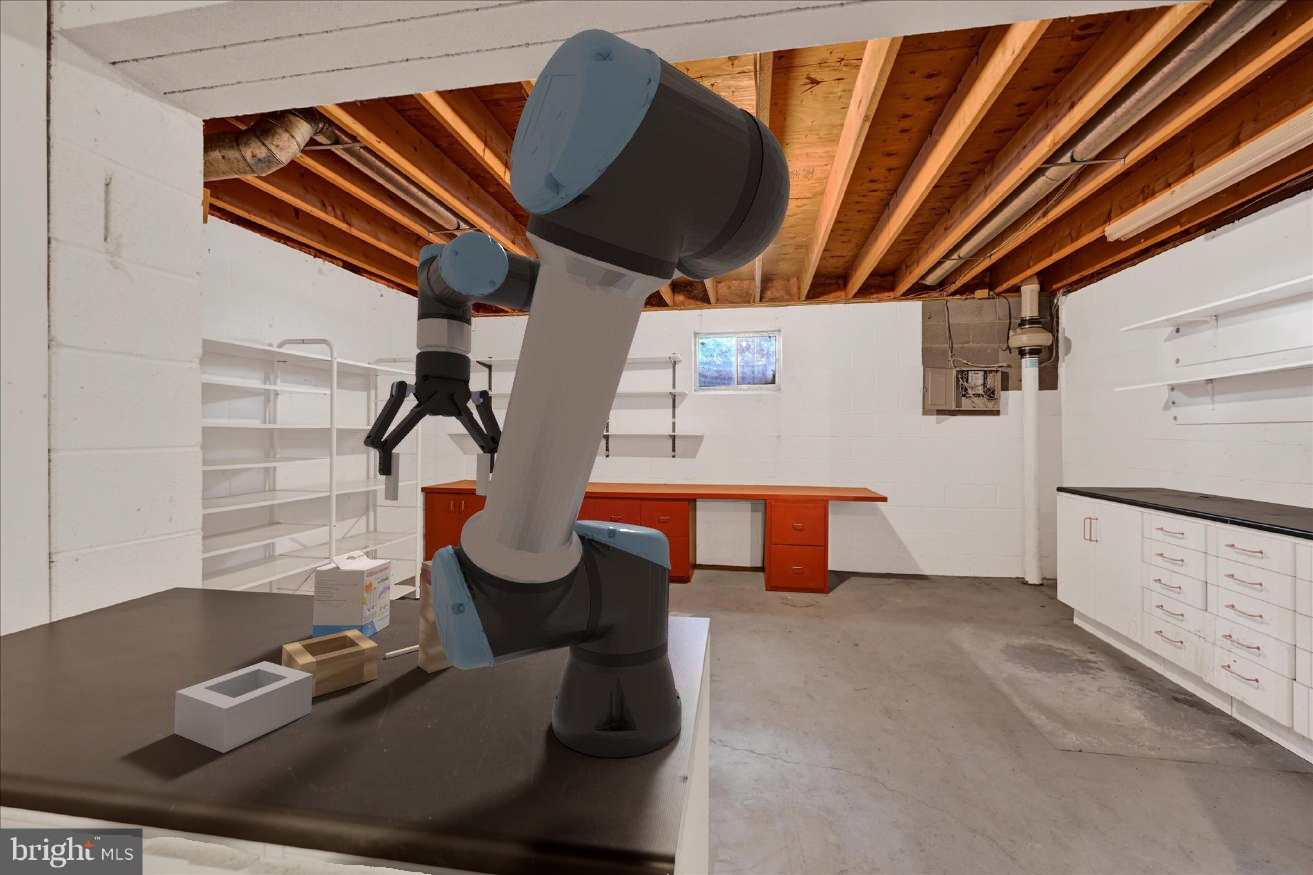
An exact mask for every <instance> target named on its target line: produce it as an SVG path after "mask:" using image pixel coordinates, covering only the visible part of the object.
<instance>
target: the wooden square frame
mask: <svg viewBox="0 0 1313 875" xmlns="http://www.w3.org/2000/svg"><path fill="white" fill-rule="evenodd" d="M281 653H282V655H281V666H284V667H288V668H292V669H295V670H299V671H302V672H306V673H310V674H313V678H312V698H314V697H318V696H321V695H325V694H328V693H332V692H335V691H336V692H337V691H339V690H342V689H346V688H349V687H353V686H356V685H359V684H362V683H367V682H370V681H372V680H373V681H374V680H376V679H378V662H379V645H378V643H376V642H375V641H373V640H372V639H370V637H369V638H367V637H366V636H365V635H363V634H362V633H360V632H359V631H358V630H356V629H354V630H349V631H345V632H340V633H335V634H331V635H326V636H322V637H317V638H313V639H312V638H309V639H304V640H301V641H299V640H298V641H295V642H290V643H286V644H282V652H281Z"/></svg>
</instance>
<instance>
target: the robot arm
mask: <svg viewBox="0 0 1313 875" xmlns="http://www.w3.org/2000/svg"><path fill="white" fill-rule="evenodd" d="M524 104H525V105H524V107H523V110H522V112H521V115H520V117H519V122H518V125H517V128H516V132H515V135H514V139H513V143H512V149H511V153H510V154H511V155H510V160H509V161H510V165H511V167H512V168H511V169H510V173H509V182H510V184H509V185H510V186H509V187H510V189H511V193H512V194H511V195H512V196H513V198H514V199H515V201H516V202H517V203H518V204H519V205H520V206H521V207H522V208H523V209H524V210H525V211H526V212H527V213H529V218H528V222H527V223H528V224H527V227H526V232H525V235H526V237H527V239H528V241H529V242H530V244H531V246H532V248H533V249H534V251H535V252H536V254H537V256H538V258H536V257H531V256H526V255H523V254H518V253H515V252H511V251H508V250H504V248H503V246H502V245H501V243H499V242H498V241H496V240H495V238H493V237H492V236H490V235H489V234H488V233H485V232H482V231H481V232H480V231H473V230H472V231H466V232H463V233H461V234H459V235H457V236H456V237H455V238H453V239H451V240H450V241H448V242H447V243H443V242H442V243H441V242H439V243H432V244H427V245H424V246H423V247H422V248H421V249H420V251H419V259H418V266H417V267H416V268H417V269H416V273H417V279H418V280H417V282H418V283H417V314H416V315H417V318H416V320H417V321H416V341H415V342H416V346H415V347H416V349H417V350H418V352H417V354H415V376H414V377H415V381H414V384H411V383H407V382H406V381H405V380H397V381H394V382H392V383H391V385H390V390H389V392H390V393H389V397H388V399H387V400H386V402H385V404H384V406H383V407H382V409H381V411H380V413H379V414H378V416H377V418H376V419H375V421H374V422H373V424H372V426H371V428H370V430H369V431H368V433H367V435H366V436H365V438H364V439H363V445H364V446H365V447H368V448H372V449H374V450H376V451H377V452H378V471H377V472H378V475H379V476H381V477H384V500H386V501H392V502H393V501H399V484H400V482H399V481H400V480H399V479H400V452H393V451H394V450H395V449H396V448H397V446H399V444H400V443H401V442H402V441H403V440H404V439H405V438H406V437H407V436H408V434H409V433H411V431H412V430H413V429H414V428H415V427H416V426H417V425H418V424H419V423H420V422H421V421H422V419H424V418H425V417H427V415H428V417H440V416H441V417H444V418H455V419H456V420H457V421H459V422H460V423H461V425H462V427H463V428H464V429H465V430H466V431H467V433H468V434H469V436H470V437H471V439H472V440H473V442H474V443H475V444H476V445H477V447H478V449H479V450H481V452H482V453H481V452H480V453H479V452H478V453H476V473H475V474H476V482H475V483H476V484H475V486H476V487H475V495H477V496H484V497H486V499H485V503H484V507H483V509H482V510H480V511H478V512H475V513H474V514H473V515H471V517H469V518H468V519H467V520H466V521H465V523H464V525H463V526H462V529H461V532H460V538H459V543H458V546H452V545H449V544H448V545H446V546H445V547H442V548H439V549H438V550H437V551H435V552H434V553H433V557H432V558H431V561H432V565H431V588H432V599H433V607H434V614H435V620H436V625H437V630H438V634H439V638H440V642H441V645H442V648H443V651H444V653H445V655H446V657H447V659H448V661H449V662H450V663H451V664H452V665H453V666H452V667H455V668H456V669H459V670H461V671H465V670H468V671H469V670H474V669H479V668H485V667H490V668H494V667H497V665H500V664H504V663H508V662H513V661H517V660H520V659H524V658H528V657H533V656H536V655H541V654H544V653H549V652H553V651H556V650H560V649H565V648H568V647H569V652H568V659H567V662H566V664H565V668H564V670H563V671H564V672H563V675H562V678H561V682H560V685H559V689H558V691H557V693H556V695H555V698H554V699H553V703H552V713H551V714H552V715H551V716H552V719H551V720H552V722H551V727H552V731H553V734H554V735H555V737H556V738H557V740H559V741H560V742H561V743H562V744H563V745H564V746H566V747H568V748H570V749H571V750H574V751H576V752H579V753H582V754H585V755H589V756H594V757H595V756H596V757H602V758H603V757H604V758H627V757H634V756H639V755H643V754H644V755H645V754H648V753H650V752H653V751H656V750H658V749H660V748H662V747H664V746H666V745H667V744H669V743H671V741H673V740H674V739H675V738H676V737H677V735H678V734H679V733H680V730H681V728H682V719H683V718H682V711H683V710H682V709H683V705H682V699H681V698H682V697H681V696H680V695H681V694H680V693H679V691H678V690H677V687H676V682H675V679H674V678H675V677H674V674H673V673H674V672H673V669H672V665H671V661H670V658H669V612H670V610H669V608H670V607H669V606H670V578H671V577H670V576H671V575H670V573H671V572H670V571H671V570H672V565H671V564H670V563H671V562H670V542H669V539H668V538H667V536H666V535H665V533H663V532H662V531H660V530H658V529H655V528H651V527H647V526H641V525H634V524H629V523H623V522H622V523H621V522H611V521H603V520H602V521H601V520H587V519H585V520H577V519H578V517H579V512H580V510H581V506H582V503H583V501H584V497H585V493H586V491H587V488H588V485H589V482H590V478H591V475H592V472H593V468H594V466H595V462H596V459H597V455H598V452H599V450H600V447H601V443H602V439H603V437H604V433H605V430H606V427H607V423H608V420H609V418H610V416H611V415H610V414H611V411H612V408H613V404H614V402H615V398H616V396H617V391H618V389H619V386H620V382H621V378H622V376H623V374H624V373H623V372H624V370H625V369H624V368H625V366H626V363H627V360H628V356H629V354H630V351H631V350H630V349H631V347H632V343H633V342H634V341H633V340H634V338H635V335H636V331H637V328H638V324H639V322H640V319H641V318H640V317H641V315H642V312H643V309H644V305H645V302H646V299H647V298H648V297H649V296H650V295H651V294H653V293H655V292H656V291H659V290H661V289H663V288H664V287H666V286H668V285H669V284H671V283H672V280H675V279H678V278H680V277H684V278H686V279H689V280H692V281H697V282H698V281H704V280H708V279H712V278H715V277H719V276H722V275H724V274H728V273H731V272H733V271H736V270H739V269H740V268H742V267H744V266H746V265H748V264H750V263H752V262H753V261H754V260H756V259H757V258H758V257H759V256H761V255H762V254H763V252H765V251H766V250H767V249H768V247H769V246H770V245H771V244H772V242H773V241H775V238H776V237H777V235H778V233H779V231H780V229H781V227H782V225H783V224H784V220H785V217H786V214H787V211H788V208H789V202H790V194H791V179H790V171H789V170H790V169H789V165H788V162H787V158H786V155H785V151H784V149H783V148H782V145H781V144H780V143H779V140H778V139H777V137H776V136H775V134H774V133H773V132H772V130H771V129H770V128H769V127H768V125H767V124H765V123H764V122H763V121H762V119H760V118H759V117H757V116H755V115H754V114H753V113H751V112H749V111H748V110H746V109H743V108H740V107H738V106H736V105H735V104H734V103H732V102H730V101H728V100H727V99H725V98H724V97H722V96H721V95H719V94H718V93H716V92H715V91H713V90H712V89H710V88H708V87H707V86H705V85H703V84H702V83H700V82H699V81H697V80H695V79H694V78H693V77H691V76H689V75H688V74H686V73H685V72H683V71H681V70H680V69H679V68H677V67H675V66H674V65H672V64H671V63H669V62H668V61H666V60H664V59H663V58H661V57H660V56H659V55H658V54H657V52H655V51H653V50H652V49H650V48H646V47H645V48H644V47H643V48H642V47H640V46H638V45H635V44H633V43H631V42H630V41H626V39H623V38H621V37H620V36H618V35H616V34H614V33H612V32H609V31H608V30H604V29H601V28H600V29H599V28H590V29H585V30H582V31H580V32H578V33H575V34H574V35H572V36H571V37H569V38H568V39H566V40H565V41H564V42H563V43H562V44H560V46H559V47H558V48H557V49H556V50H555V52H554V53H553V54H552V56H551V57H550V58H549V60H548V61H547V63H546V65H545V66H544V67H543V69H542V70H541V72H540V73H539V75H538V76H537V79H536V80H535V82H534V84H533V86H532V88H531V91H530V93H529V94H528V97H527V99H526V102H525V103H524ZM475 303H480V304H481V303H482V304H487V305H491V306H496V307H502V308H508V309H513V310H520V311H524V312H528V317H527V322H526V324H525V331H524V334H523V338H522V344H521V347H520V352H519V356H518V361H517V365H516V369H515V373H514V378H513V382H512V386H511V392H510V395H509V400H508V403H507V409H506V411H505V412H506V413H505V417H504V420H503V425H502V428H500V425H499V423H498V421H497V418H496V415H495V413H494V411H493V408H492V406H491V400H490V392H489V391H488V390H487V389H481V390H473V391H471V389H470V381H471V361H472V360H471V358H470V357H469V356H468V355H469V354H471V352H472V320H473V319H472V316H473V304H475ZM411 394H412V395H413V396H414V399H415V400H416V401H417V402H416V404H414V406H413V407H412V408H411V409H410V410H409V412H408V414H407V415H405V417H404V418H403V419H402V420H401V421H400V422H399V423H398V424H397V425H396V426H395V427H394V428H393V429H392V430H391V431H390V432H389V434H387V432H388V430H389V428H390V427H391V424H393V421H394V420H395V418H396V416H397V414H399V411H400V409H401V408H402V406H403V403H405V399H407V398H409V397H410V396H411ZM470 400H471V402H472V403H473V404H474V406H475V409H476V412H477V414H478V417H479V419H480V421H481V423H482V424H481V425H482V426H483V427H482V426H481V425H480V423H479V421H478V420H477V419H476V417H474V413H473V411H472V410H471V408H470V407H469V405H468V403H470ZM501 429H502V430H501ZM386 434H387V436H385V435H386ZM384 437H385V438H384ZM495 455H496V456H495ZM490 476H491V477H490Z"/></svg>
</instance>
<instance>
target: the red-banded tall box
mask: <svg viewBox="0 0 1313 875" xmlns="http://www.w3.org/2000/svg"><path fill="white" fill-rule="evenodd" d="M431 565H432V560H427V561H421V567H420V603H419V604H420V606H419V608H420V609H419V610H420V611H419V636H418V637H419V638H418V645H419V650H418V664H417V665H418V667H419V668H421V669H422V670H424V671H426V672H427V673H428V674H431V673H434V672H439V671H441V670H444V669H447V668H451V667H454V666H453V665H452V664H451V663H450V662H449V661H448V659H447V657H446V655H445V653H444V651H443V648H442V645H441V642H440V638H439V634H438V630H437V625H436V620H435V614H434V607H433V599H432V588H431Z"/></svg>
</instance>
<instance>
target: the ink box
mask: <svg viewBox="0 0 1313 875" xmlns="http://www.w3.org/2000/svg"><path fill="white" fill-rule="evenodd" d="M348 557H352V558H354V559H347V558H348ZM331 560H332V562H333V563H329V564H325V565H323V566H321V567H317V568H315V570H314V583H313V585H314V590H313V613H312V614H313V618H312V638H311V639H313V638H317V637H322V636H326V635H331V634H335V633H340V632H345V631H349V630H354V629H356V630H358V631H359V632H360V633H362V634H363V635H365V636H366V637H367V638H369V639H370V637H372V636H373V635H375V634H376V633H378V632H380V631H381V630H383V629H385V628H386V627H387V626H389V625H390V606H391V605H390V598H391V597H390V596H391V570H392V569H391V567H392V560H391V559H370V558H369V557H367V555H366V554H365V553H364V552H363V551H362V550H360V549H359V550H355V551H351V552H347V553H345V554H340V555H336V556H333V557H332V558H331Z"/></svg>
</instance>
